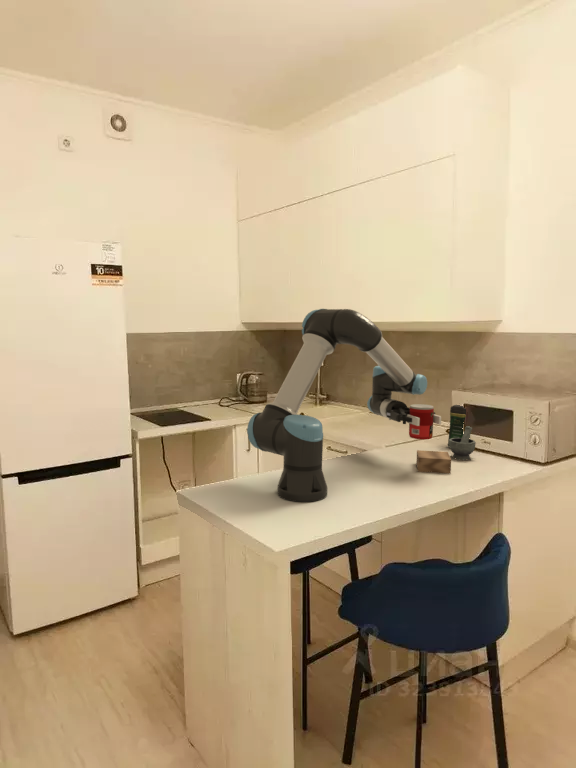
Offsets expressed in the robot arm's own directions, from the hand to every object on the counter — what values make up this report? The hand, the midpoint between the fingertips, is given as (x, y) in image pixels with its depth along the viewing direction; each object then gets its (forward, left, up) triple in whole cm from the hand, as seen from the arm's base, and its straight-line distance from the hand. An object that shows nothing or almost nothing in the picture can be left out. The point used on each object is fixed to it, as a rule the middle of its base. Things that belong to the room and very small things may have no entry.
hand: (429, 421), depth 182 cm
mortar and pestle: (+15, +29, -19) cm, 38 cm away
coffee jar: (+16, +46, -19) cm, 53 cm away
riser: (+3, +11, -19) cm, 22 cm away
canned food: (-2, +4, -7) cm, 8 cm away
